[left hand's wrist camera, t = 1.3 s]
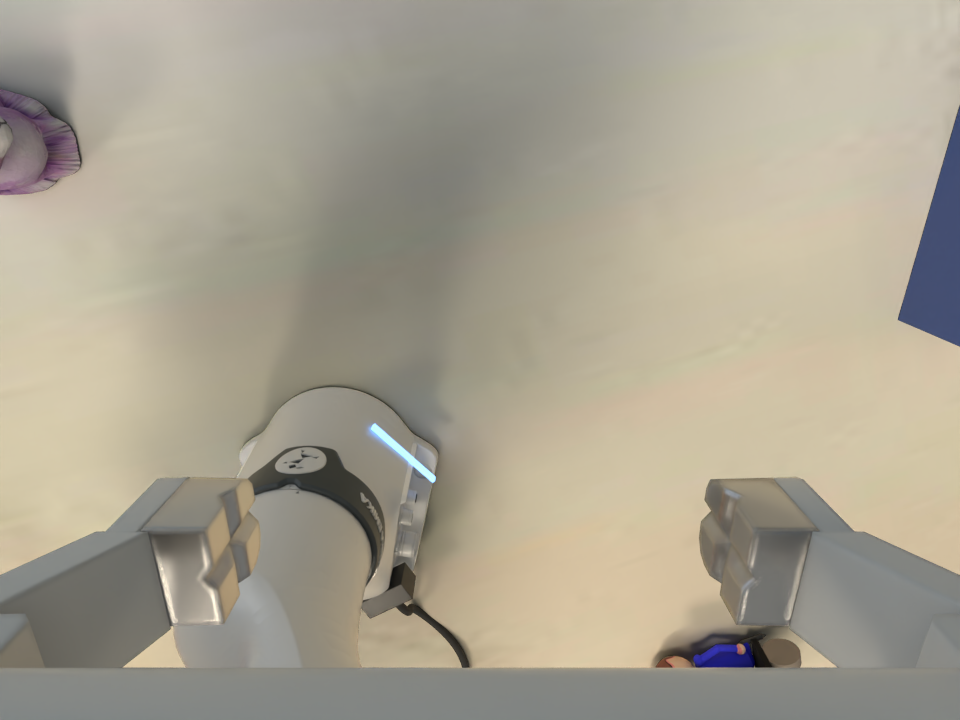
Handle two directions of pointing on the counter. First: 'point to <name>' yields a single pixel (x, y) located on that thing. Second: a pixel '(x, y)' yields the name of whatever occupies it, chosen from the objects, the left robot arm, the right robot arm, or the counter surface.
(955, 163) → the block
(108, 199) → the counter surface
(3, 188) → the figurine
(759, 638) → the figurine character
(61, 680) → the left robot arm
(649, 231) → the counter surface
